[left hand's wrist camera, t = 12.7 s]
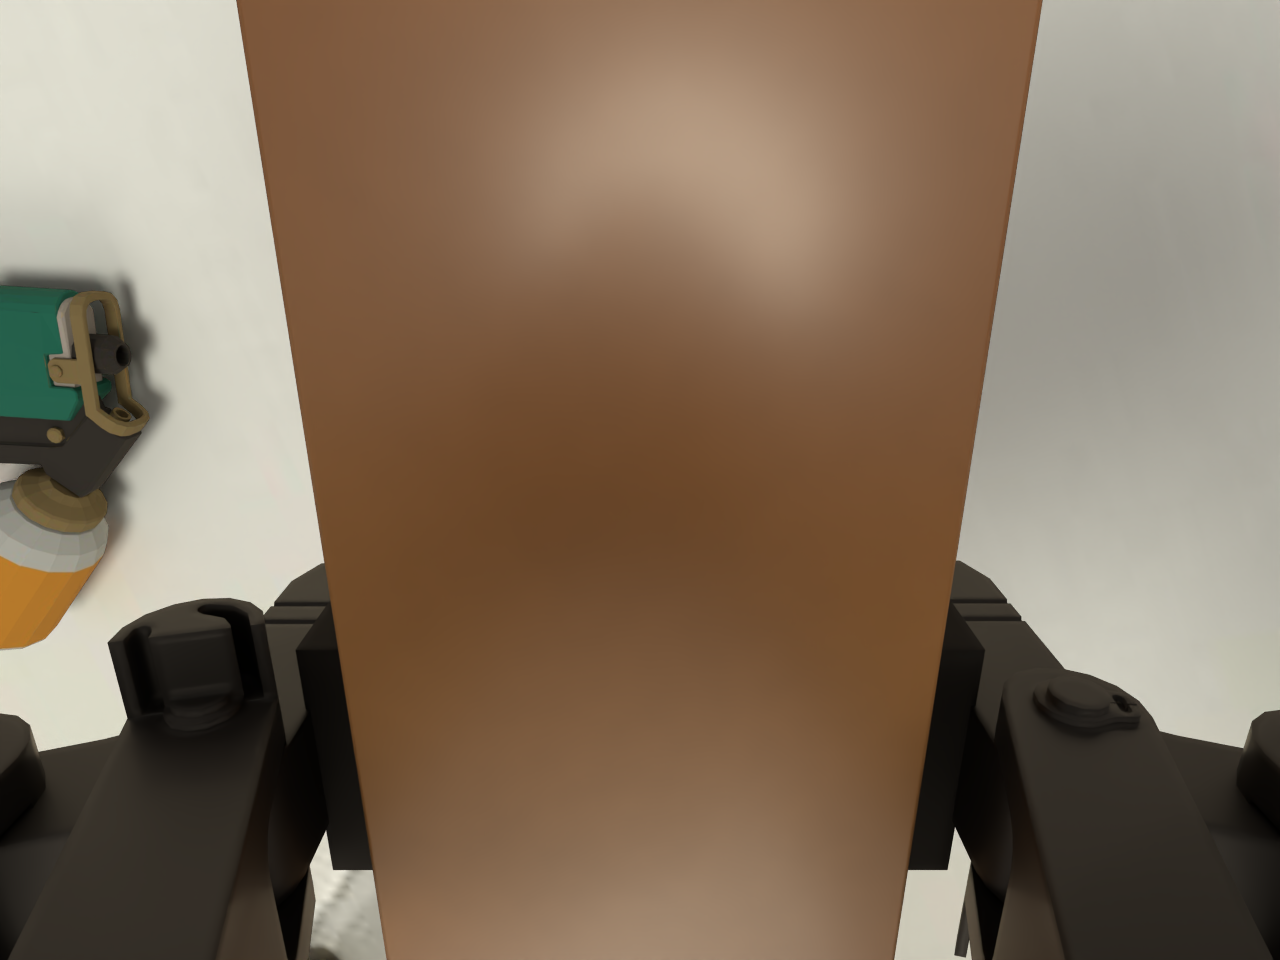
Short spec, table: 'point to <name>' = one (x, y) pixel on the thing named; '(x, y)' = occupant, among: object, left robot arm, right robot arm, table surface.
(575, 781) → the bar
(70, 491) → the spray gun
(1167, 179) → the table surface
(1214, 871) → the left robot arm
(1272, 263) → the table surface
